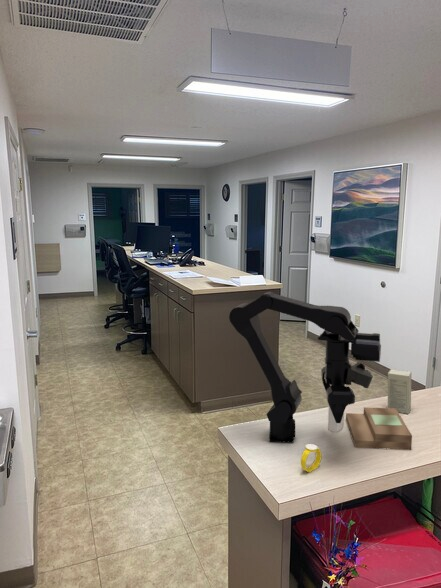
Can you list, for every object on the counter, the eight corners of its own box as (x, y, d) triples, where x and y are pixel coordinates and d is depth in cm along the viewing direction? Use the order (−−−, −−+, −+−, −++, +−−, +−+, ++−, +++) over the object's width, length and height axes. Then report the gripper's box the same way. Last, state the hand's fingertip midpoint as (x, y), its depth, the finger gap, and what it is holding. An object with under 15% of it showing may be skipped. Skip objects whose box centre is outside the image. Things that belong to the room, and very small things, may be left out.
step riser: (354, 447, 113) (355, 432, 113) (345, 419, 129) (346, 406, 128) (411, 449, 111) (412, 434, 111) (395, 421, 127) (395, 407, 126)
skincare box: (411, 409, 135) (412, 371, 132) (408, 414, 131) (410, 376, 129) (389, 405, 138) (390, 368, 136) (386, 410, 134) (387, 372, 132)
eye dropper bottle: (350, 429, 112) (351, 385, 110) (333, 434, 110) (333, 389, 108) (338, 422, 116) (339, 379, 114) (321, 427, 114) (322, 383, 112)
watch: (314, 463, 107) (315, 440, 106) (323, 468, 105) (324, 445, 104) (297, 471, 103) (299, 447, 103) (306, 476, 101) (308, 452, 101)
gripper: (378, 370, 100) (376, 434, 102) (363, 347, 118) (361, 401, 121) (328, 369, 101) (327, 432, 104) (321, 346, 119) (320, 400, 122)
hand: (336, 415), depth 113 cm, fingers closed on eye dropper bottle, 8 cm apart
